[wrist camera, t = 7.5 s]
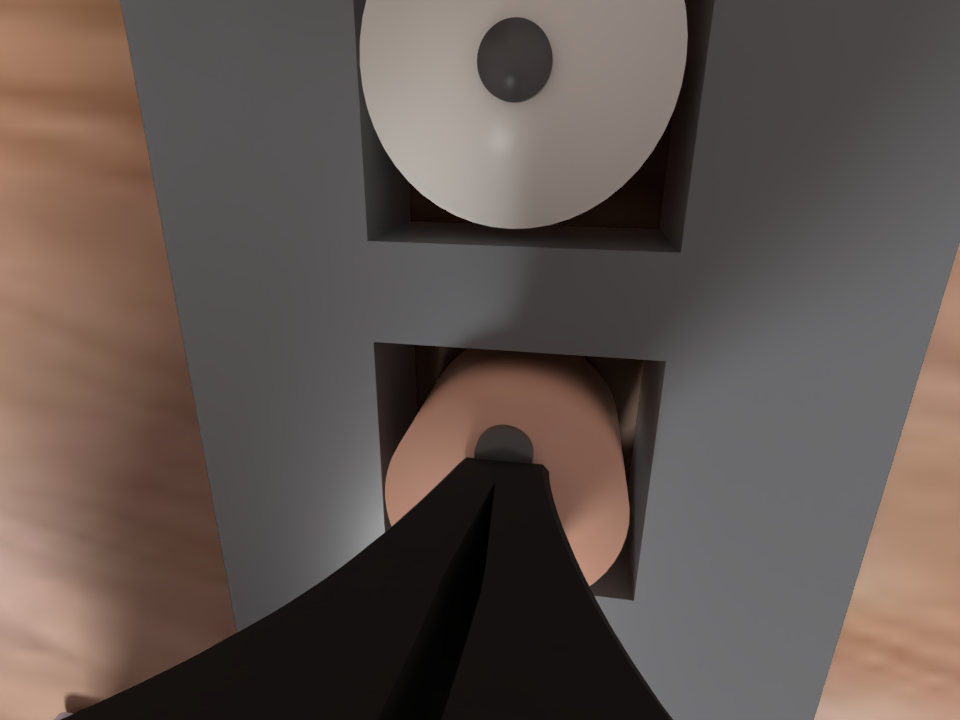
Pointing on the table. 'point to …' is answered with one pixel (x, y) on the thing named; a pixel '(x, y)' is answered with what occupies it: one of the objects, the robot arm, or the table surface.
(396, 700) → the robot arm
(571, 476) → the button three dots
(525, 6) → the button one dot
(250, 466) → the button board
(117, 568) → the table surface
